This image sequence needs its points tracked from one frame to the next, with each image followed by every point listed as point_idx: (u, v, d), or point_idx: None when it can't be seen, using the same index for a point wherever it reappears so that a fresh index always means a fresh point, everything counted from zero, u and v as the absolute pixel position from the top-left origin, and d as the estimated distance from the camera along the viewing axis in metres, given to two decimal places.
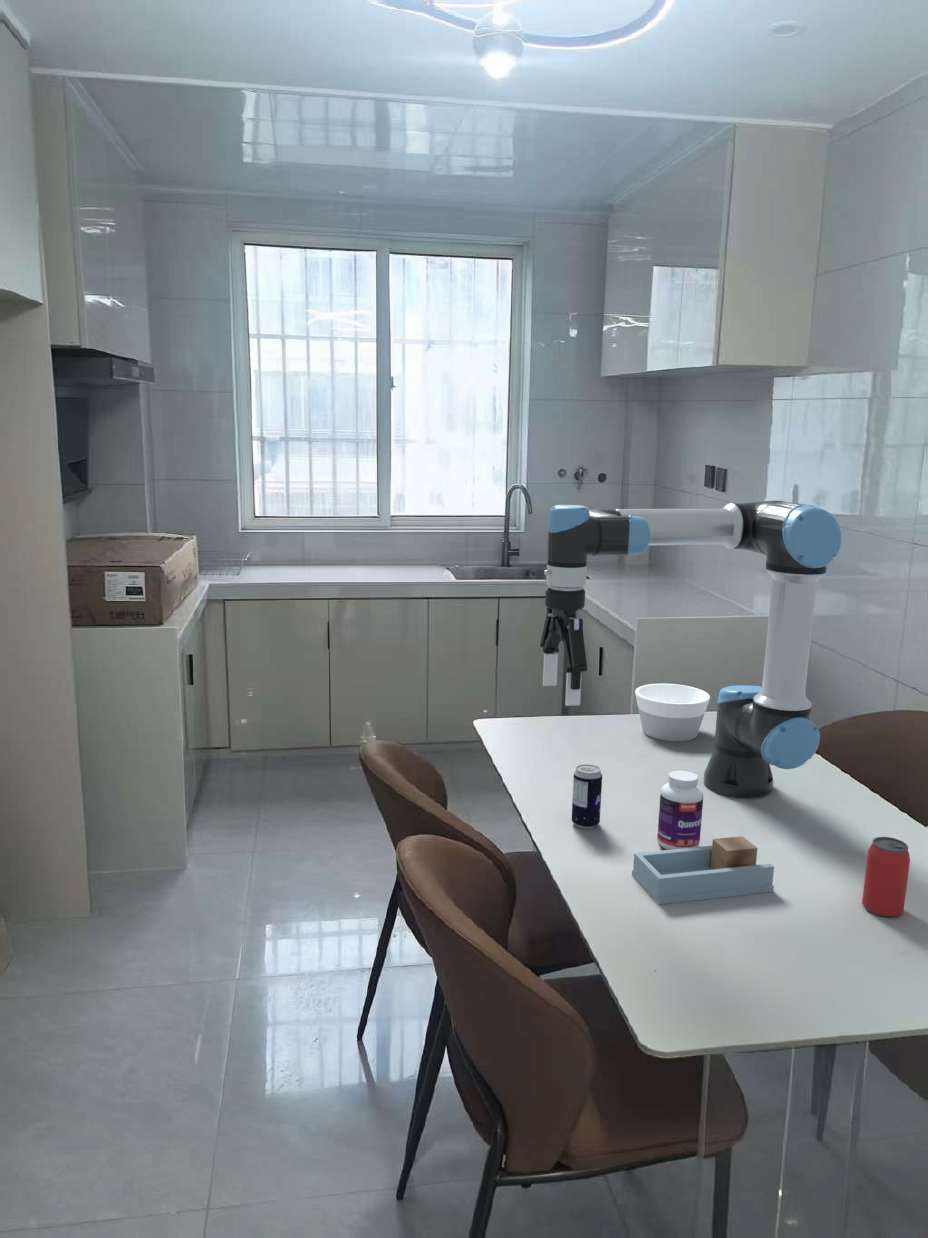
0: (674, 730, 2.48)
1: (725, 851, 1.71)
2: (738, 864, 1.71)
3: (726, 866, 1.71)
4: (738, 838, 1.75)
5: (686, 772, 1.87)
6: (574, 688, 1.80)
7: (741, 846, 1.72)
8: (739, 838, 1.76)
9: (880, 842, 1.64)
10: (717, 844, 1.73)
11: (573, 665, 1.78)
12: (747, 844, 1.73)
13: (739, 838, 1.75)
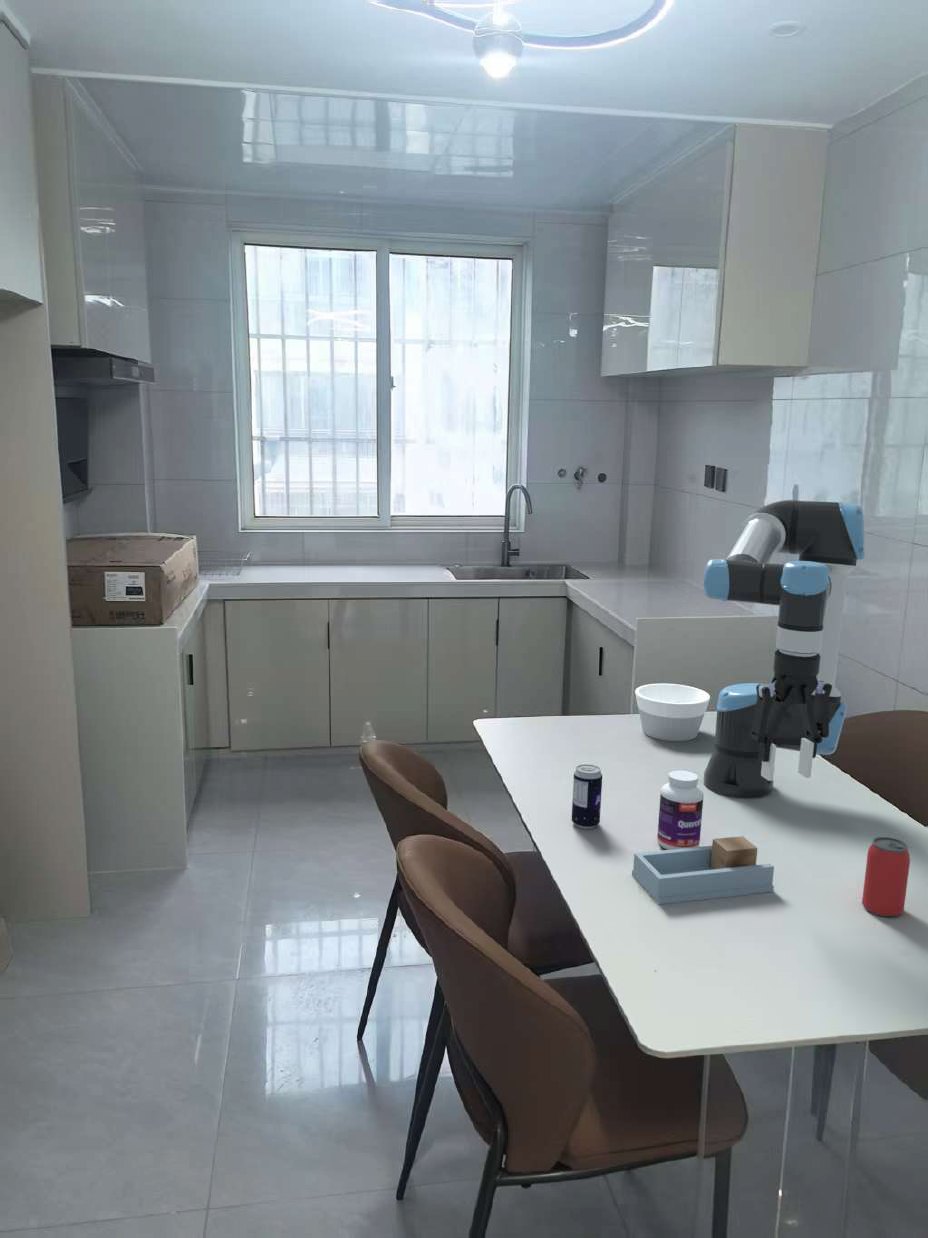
0: (674, 730, 2.48)
1: (725, 851, 1.71)
2: (738, 864, 1.71)
3: (726, 866, 1.71)
4: (738, 838, 1.75)
5: (686, 772, 1.87)
6: (760, 758, 1.71)
7: (741, 846, 1.72)
8: (739, 838, 1.76)
9: (880, 842, 1.64)
10: (717, 844, 1.73)
11: None
12: (747, 844, 1.73)
13: (739, 838, 1.75)
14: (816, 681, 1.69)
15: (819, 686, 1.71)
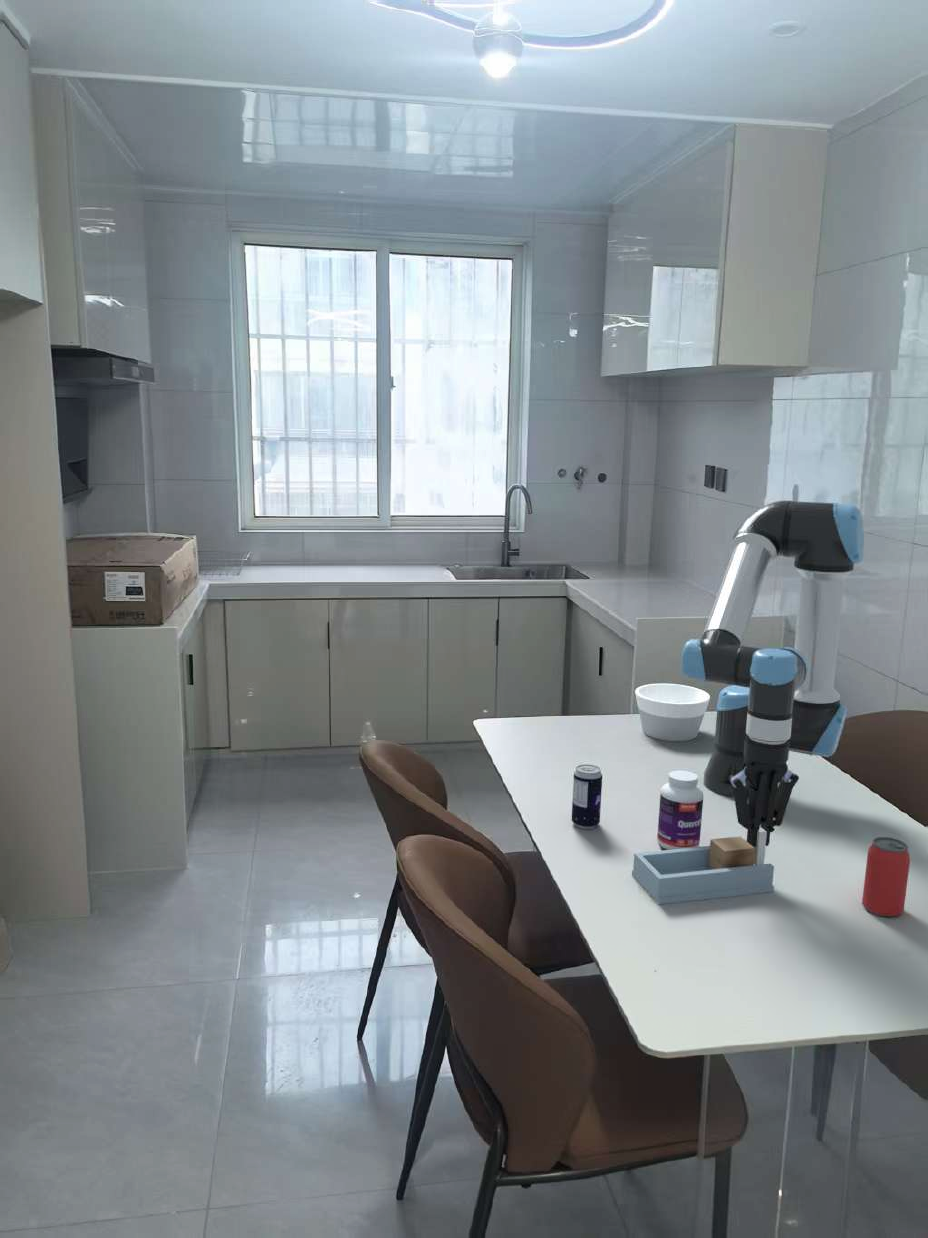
0: (674, 730, 2.48)
1: (723, 851, 1.71)
2: (736, 864, 1.71)
3: (724, 866, 1.71)
4: (736, 838, 1.75)
5: (686, 772, 1.87)
6: None
7: (738, 846, 1.72)
8: (737, 838, 1.76)
9: (880, 842, 1.64)
10: (715, 844, 1.73)
11: None
12: (745, 844, 1.73)
13: (737, 838, 1.75)
14: (786, 768, 1.72)
15: (787, 774, 1.73)
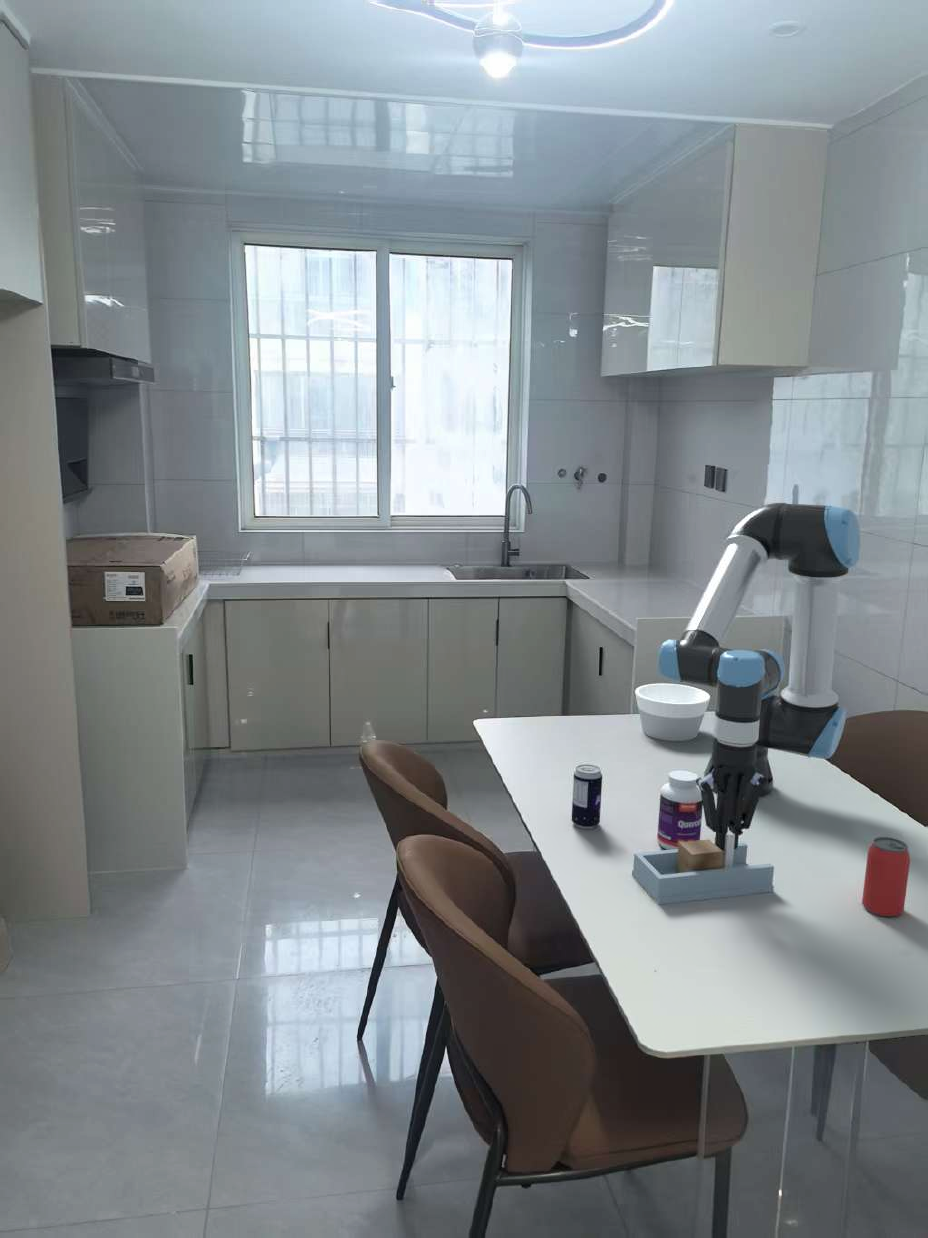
0: (674, 730, 2.48)
1: (690, 855, 1.69)
2: (704, 867, 1.70)
3: (691, 870, 1.69)
4: (704, 841, 1.74)
5: (686, 772, 1.87)
6: None
7: (706, 849, 1.71)
8: (706, 841, 1.74)
9: (880, 842, 1.64)
10: (683, 847, 1.72)
11: None
12: (713, 847, 1.71)
13: (705, 841, 1.74)
14: (754, 770, 1.70)
15: (755, 777, 1.71)
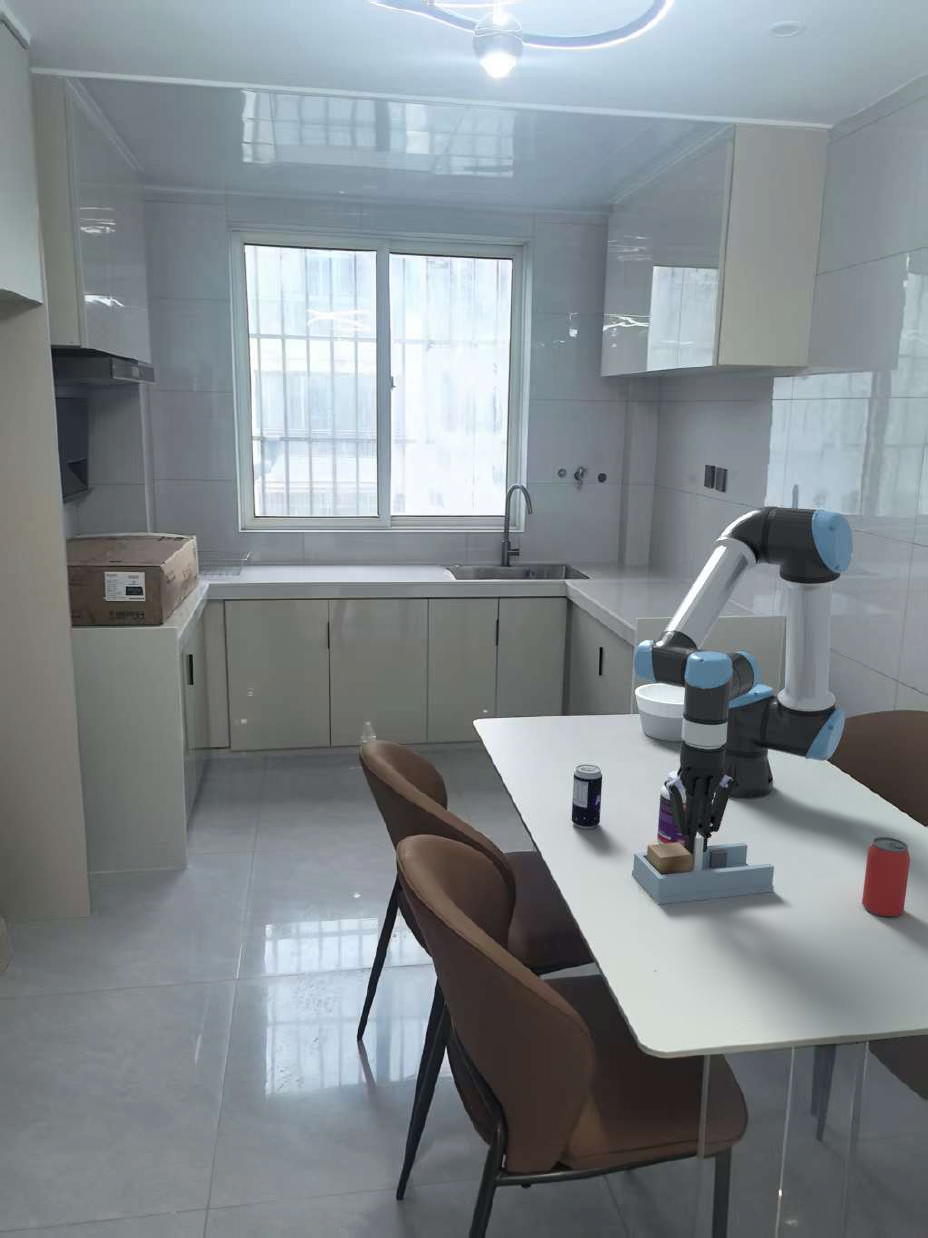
0: (674, 730, 2.48)
1: (658, 858, 1.68)
2: (672, 871, 1.68)
3: (660, 873, 1.68)
4: (674, 844, 1.72)
5: None
6: None
7: (675, 852, 1.69)
8: (675, 844, 1.72)
9: (880, 842, 1.64)
10: (651, 850, 1.70)
11: None
12: (682, 850, 1.70)
13: (675, 844, 1.72)
14: (723, 773, 1.68)
15: (724, 779, 1.69)
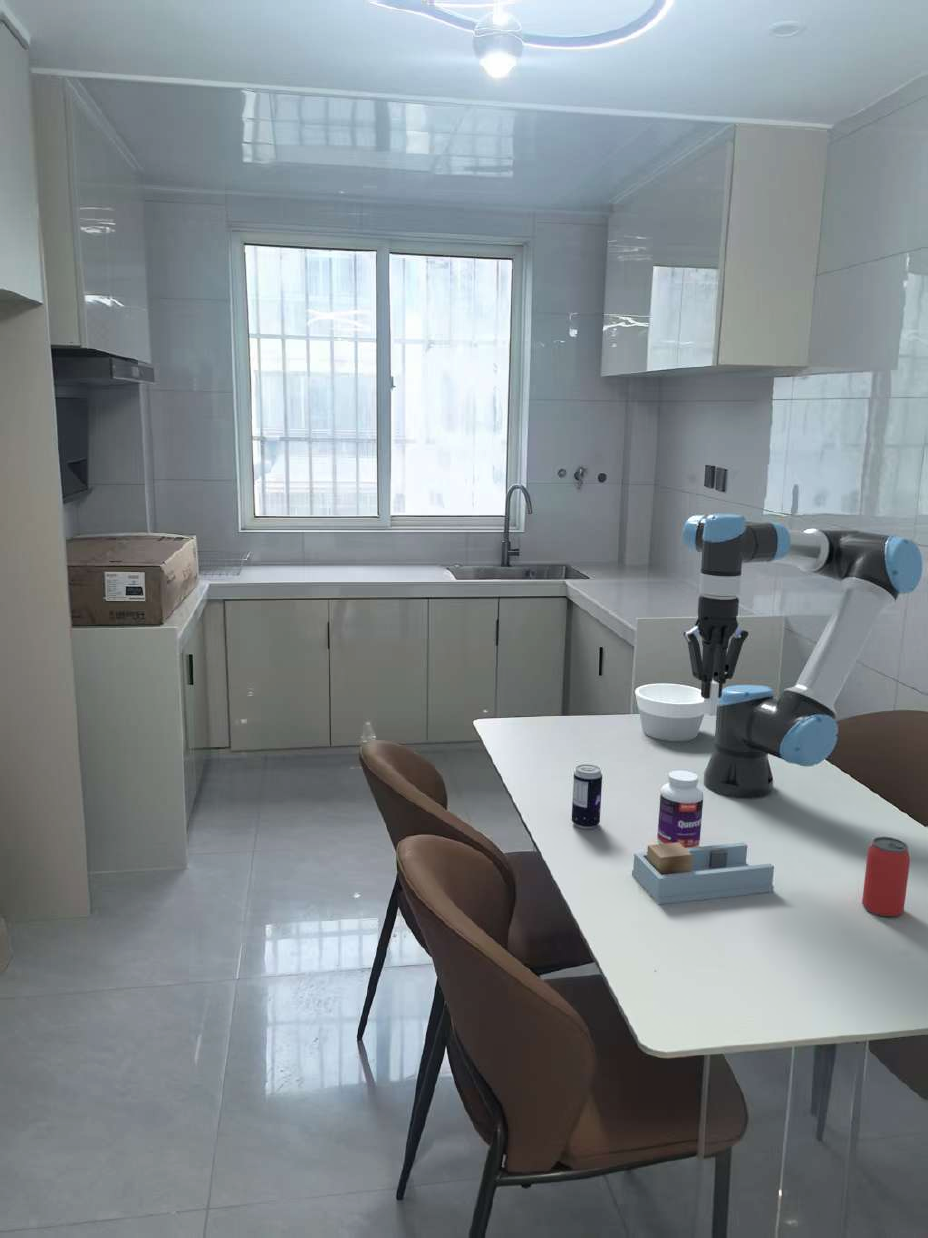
0: (674, 730, 2.48)
1: (659, 858, 1.68)
2: (672, 871, 1.68)
3: (660, 873, 1.68)
4: (674, 844, 1.72)
5: (686, 772, 1.87)
6: (701, 695, 1.90)
7: (675, 852, 1.69)
8: (675, 844, 1.72)
9: (880, 842, 1.64)
10: (651, 850, 1.70)
11: None
12: (682, 850, 1.70)
13: (675, 844, 1.72)
14: (736, 624, 1.87)
15: (737, 630, 1.88)
